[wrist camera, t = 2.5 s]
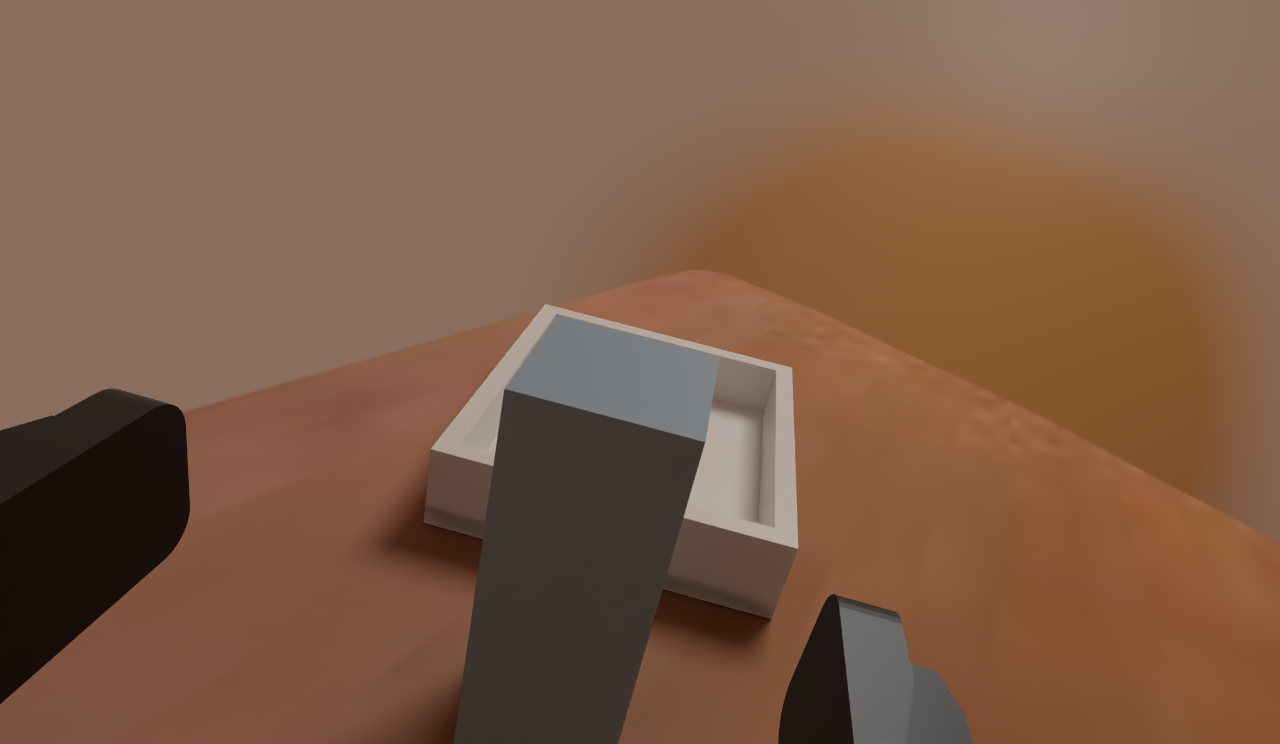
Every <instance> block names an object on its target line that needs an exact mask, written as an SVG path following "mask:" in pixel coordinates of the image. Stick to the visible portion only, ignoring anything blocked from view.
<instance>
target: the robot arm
mask: <svg viewBox="0 0 1280 744" xmlns="http://www.w3.org/2000/svg"><path fill="white" fill-rule="evenodd" d="M189 512H190V499H189V479H188V459H187V440H186V423H185V418H184V415H183V413H182V411H181V410H180V409H179V408H178V407H176V406H174V405H171V404H168V403H164V402H161V401H157V400H154V399H150V398H147V397H143V396H140V395H136V394H133V393H129V392H126V391H122V390H118V389H106V390H102V391H100V392H98V393H96V394H94V395H92V396H90V397H88V398H87V399H85V400H83V401H81V402H79V403H78V404H76V405H74V406H72V407H70V408H68V409H67V410H65V411H63V412H61V413H59V414H57V415H55V416H49V417H46V418H42V419H39V420H35V421H32V422H28V423H25V424H21V425H18V426H15V427H11V428H8V429H4V430H1V431H0V704H1V703H2V702H3V701H4V700H5V699H7V698H8V697H9V696H10V695H11V694H12V693H13V692H15V691H16V690H17V689H18V688H19V687H20V686H21V685H23V684H24V683H25V682H26V681H27V680H28V679H29V678H30V677H32V676H33V675H34V674H35V673H36V672H37V671H38V670H40V669H41V668H42V667H43V666H44V665H45V664H46V663H48V662H49V661H50V660H51V659H52V658H53V657H54V656H55V655H57V654H58V653H59V652H60V651H61V650H62V649H63V648H65V647H66V646H67V645H68V644H69V643H70V642H71V641H73V640H74V639H75V638H76V637H77V636H78V635H79V634H80V633H82V632H83V631H84V630H85V629H86V628H87V627H88V626H90V625H91V624H92V623H93V622H94V621H95V620H96V619H98V618H99V617H100V616H101V615H102V614H103V613H104V612H105V611H107V610H108V609H109V608H110V607H111V606H112V605H113V604H115V603H116V602H117V601H118V600H119V599H120V598H121V597H123V596H124V595H125V594H126V593H127V592H128V591H129V590H130V589H132V588H133V587H134V586H135V585H136V584H137V583H138V582H140V581H141V580H142V579H143V578H144V577H145V576H146V575H148V574H149V573H150V572H151V571H152V570H153V569H154V568H155V567H157V566H158V565H159V564H160V563H161V562H162V561H163V560H164V559H166V558H167V557H168V556H169V554H170V553H171V552H172V551H173V550H174V548H175V547H176V545H177V544H178V542H179V541H180V539H181V537H182V535H183V533H184V531H185V528H186V525H187V522H188V518H189ZM778 744H973V743H972V740H971V736H970V732H969V729H968V725H967V721H966V718H965V714H964V713H963V711H962V710H961V708H960V707H959V705H958V704H957V702H956V701H955V699H954V698H953V696H952V695H951V693H950V692H949V690H948V689H947V687H946V686H945V684H944V683H943V681H942V680H941V678H940V677H939V675H938V674H937V672H936V671H933V670H929V669H926V668H922V667H919V666H915V665H912V664H910V660H909V655H908V650H907V645H906V640H905V636H904V631H903V626H902V622H901V619H900V617H899V615H898V614H897V613H896V612H894V611H891V610H887V609H884V608H880V607H877V606H873V605H870V604H866V603H862V602H859V601H855V600H852V599H848V598H845V597H841V596H838V595H834V594H833V595H830V596H829V597H828V599H827V600H826V602H825V603H824V605H823V607H822V609H821V612H820V614H819V616H818V619H817V621H816V623H815V626H814V628H813V630H812V633H811V635H810V637H809V640H808V642H807V644H806V647H805V649H804V651H803V654H802V656H801V658H800V661H799V663H798V665H797V668H796V670H795V672H794V675H793V677H792V679H791V681H790V684H789V687H788V690H787V693H786V696H785V700H784V704H783V708H782V713H781V719H780V727H779V742H778Z"/></svg>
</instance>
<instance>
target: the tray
mask: <svg viewBox="0 0 1280 744" xmlns="http://www.w3.org/2000/svg"><path fill="white" fill-rule="evenodd" d="M557 315H559V316H563V317H567V318H571V319H575V320H578V321H582V322H586V323H590V324H594V325H598V326H602V327H605V328H609V329H613V330H617V331H621V332H625V333H629V334H632V335H636V336H640V337H644V338H648V339H652V340H656V341H659V342H663V343H667V344H671V345H675V346H679V347H683V348H686V349H690V350H694V351H698V352H702V353H706V354H710V355H713V356H717V357H720V359H719V365H718V371H717V377H716V383H715V389H714V394H713V400H712V406H711V412H710V418H709V424H708V429H707V435H706V441H705V445H704V448H703V452H702V455H701V459H700V462H699V466H698V469H697V473H696V476H695V480H694V483H693V486H692V490H691V493H690V497H689V500H688V504H687V507H686V511H685V514H684V518H683V521H682V524H681V528H680V531H679V535H678V538H677V542H676V545H675V549H674V552H673V556H672V559H671V562H670V566H669V569H668V573H667V576H666V580H665V583H664V587H663V589H664V590H668V591H671V592H675V593H679V594H682V595H686V596H690V597H693V598H697V599H700V600H704V601H708V602H711V603H715V604H718V605H722V606H726V607H729V608H733V609H736V610H740V611H744V612H747V613H751V614H754V615H758V616H762V617H765V618H769V619H772V616H773V614H774V611H775V608H776V606H777V603H778V600H779V598H780V595H781V593H782V590H783V587H784V585H785V582H786V580H787V577H788V574H789V572H790V569H791V567H792V564H793V561H794V559H795V556H796V553H797V551H798V528H797V499H796V470H795V442H794V413H793V384H792V368H791V367H787V366H783V365H779V364H775V363H771V362H767V361H763V360H760V359H756V358H752V357H748V356H744V355H740V354H736V353H732V352H729V351H725V350H721V349H717V348H713V347H709V346H705V345H701V344H698V343H694V342H690V341H686V340H682V339H678V338H674V337H670V336H667V335H663V334H659V333H655V332H651V331H647V330H643V329H639V328H636V327H632V326H628V325H624V324H620V323H616V322H612V321H609V320H605V319H601V318H597V317H593V316H589V315H585V314H581V313H578V312H574V311H570V310H566V309H562V308H558V307H554V306H550V305H547V304H546V305H545V306H544V307H543V308H542V309H541V311H540V312H539V313H538V314H537V316H536V317H535V318H534V319H533V321H532V322H531V323H530V324H529V326H528V327H527V328H526V329H525V331H524V332H523V333H522V334H521V336H520V337H519V338H518V340H517V341H516V342H515V343H514V345H513V346H512V347H511V348H510V350H509V351H508V352H507V353H506V355H505V356H504V357H503V358H502V360H501V361H500V362H499V363H498V365H497V366H496V367H495V369H494V370H493V371H492V372H491V374H490V375H489V376H488V377H487V379H486V380H485V381H484V382H483V384H482V385H481V386H480V387H479V389H478V390H477V391H476V392H475V394H474V395H473V396H472V398H471V399H470V400H469V401H468V403H467V404H466V405H465V406H464V408H463V409H462V410H461V411H460V413H459V414H458V415H457V416H456V418H455V419H454V420H453V421H452V423H451V424H450V425H449V426H448V428H447V429H446V430H445V432H444V433H443V434H442V435H441V437H440V438H439V439H438V440H437V442H436V443H435V444H434V445H433V447H432V448H431V450H430V460H429V471H428V481H427V491H426V502H425V512H424V522H423V523H426V524H430V525H434V526H437V527H441V528H444V529H448V530H452V531H455V532H459V533H462V534H466V535H470V536H473V537H477V538H480V539H483V534H484V527H485V520H486V513H487V506H488V499H489V492H490V485H491V478H492V471H493V464H494V457H495V450H496V443H497V436H498V429H499V422H500V415H501V408H502V401H503V394H504V388H505V387H506V386H507V384H508V383H509V381H510V380H511V379H512V377H513V376H514V375H515V373H516V372H517V370H518V369H519V368H520V366H521V365H522V364H523V362H524V361H525V359H526V358H527V357H528V355H529V354H530V353H531V351H532V350H533V348H534V347H535V346H536V344H537V343H538V341H539V340H540V339H541V337H542V336H543V335H544V333H545V332H546V330H547V329H548V328H549V326H550V325H551V324H552V322H553V321H554V319H555V318H556V317H557Z"/></svg>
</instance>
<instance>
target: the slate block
mask: <svg viewBox="0 0 1280 744" xmlns="http://www.w3.org/2000/svg"><path fill="white" fill-rule="evenodd" d="M719 359H720V357H717V356H713V355H710V354H706V353H702V352H698V351H694V350H690V349H686V348H683V347H679V346H675V345H671V344H667V343H663V342H659V341H656V340H652V339H648V338H644V337H640V336H636V335H632V334H629V333H625V332H621V331H617V330H613V329H609V328H605V327H602V326H598V325H594V324H590V323H586V322H582V321H578V320H575V319H571V318H567V317H563V316H559V315H557V317H556V318H555V319H554V321H553V322H552V324H551V325H550V326H549V328H548V329H547V330H546V332H545V333H544V335H543V336H542V337H541V339H540V340H539V341H538V343H537V344H536V346H535V347H534V348H533V350H532V351H531V353H530V354H529V355H528V357H527V358H526V359H525V361H524V362H523V364H522V365H521V366H520V368H519V369H518V370H517V372H516V373H515V375H514V376H513V377H512V379H511V380H510V381H509V383H508V384H507V386H506V387H505V388H504V394H503V401H502V408H501V415H500V422H499V429H498V436H497V443H496V450H495V457H494V464H493V471H492V478H491V485H490V492H489V499H488V506H487V513H486V520H485V527H484V534H483V541H482V548H481V555H480V562H479V569H478V576H477V583H476V590H475V597H474V604H473V611H472V618H471V625H470V632H469V639H468V646H467V653H466V660H465V667H464V674H463V681H462V688H461V695H460V702H459V709H458V716H457V723H456V730H455V737H454V744H618V742H619V739H620V735H621V732H622V728H623V725H624V721H625V718H626V714H627V711H628V708H629V704H630V701H631V697H632V694H633V690H634V687H635V683H636V680H637V676H638V673H639V670H640V666H641V663H642V659H643V656H644V652H645V649H646V645H647V642H648V638H649V635H650V632H651V628H652V625H653V621H654V618H655V614H656V611H657V607H658V604H659V600H660V597H661V594H662V590H663V587H664V583H665V580H666V576H667V573H668V569H669V566H670V562H671V559H672V556H673V552H674V549H675V545H676V542H677V538H678V535H679V531H680V528H681V524H682V521H683V518H684V514H685V511H686V507H687V504H688V500H689V497H690V493H691V490H692V486H693V483H694V480H695V476H696V473H697V469H698V466H699V462H700V459H701V455H702V452H703V448H704V445H705V441H706V435H707V429H708V424H709V418H710V412H711V406H712V400H713V394H714V389H715V383H716V377H717V371H718V365H719Z"/></svg>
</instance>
